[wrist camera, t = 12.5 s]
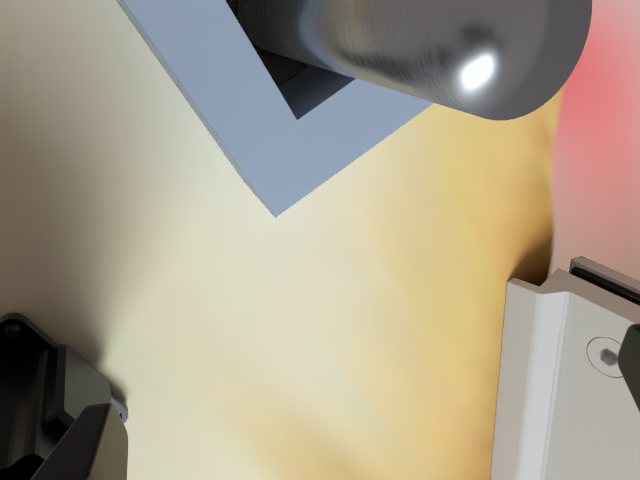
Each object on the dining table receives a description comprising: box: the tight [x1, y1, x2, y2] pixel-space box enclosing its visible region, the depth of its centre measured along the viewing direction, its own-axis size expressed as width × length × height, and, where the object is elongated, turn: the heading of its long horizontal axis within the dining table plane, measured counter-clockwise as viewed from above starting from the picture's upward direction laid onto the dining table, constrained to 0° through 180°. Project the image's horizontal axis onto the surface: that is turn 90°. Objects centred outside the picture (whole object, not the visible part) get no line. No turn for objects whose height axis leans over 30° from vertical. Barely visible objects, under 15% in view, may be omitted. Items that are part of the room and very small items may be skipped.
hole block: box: [117, 0, 434, 218], centre depth 18 cm, size 9×9×4 cm
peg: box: [237, 0, 592, 120], centre depth 14 cm, size 3×3×12 cm
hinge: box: [490, 256, 640, 480], centre depth 30 cm, size 17×5×10 cm, turn 4°
